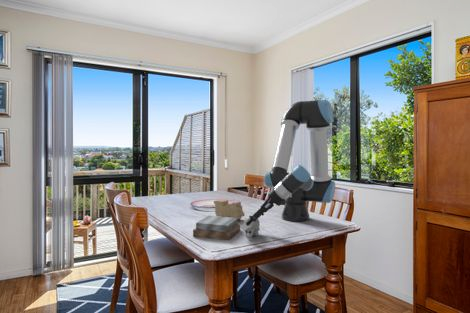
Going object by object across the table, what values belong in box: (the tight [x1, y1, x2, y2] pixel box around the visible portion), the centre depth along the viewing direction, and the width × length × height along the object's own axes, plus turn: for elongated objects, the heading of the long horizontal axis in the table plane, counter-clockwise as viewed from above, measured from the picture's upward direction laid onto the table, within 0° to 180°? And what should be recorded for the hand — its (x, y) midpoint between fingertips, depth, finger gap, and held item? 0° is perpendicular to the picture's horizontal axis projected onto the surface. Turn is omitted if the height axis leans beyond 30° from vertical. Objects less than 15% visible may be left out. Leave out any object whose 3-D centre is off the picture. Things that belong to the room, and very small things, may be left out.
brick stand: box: [192, 215, 241, 241], centre depth 146 cm, size 17×17×6 cm
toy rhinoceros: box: [243, 215, 261, 239], centre depth 140 cm, size 7×12×8 cm, turn 163°
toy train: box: [213, 199, 246, 221], centre depth 173 cm, size 6×17×10 cm, turn 57°
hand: (246, 225), depth 142 cm, fingers open, 12 cm apart
